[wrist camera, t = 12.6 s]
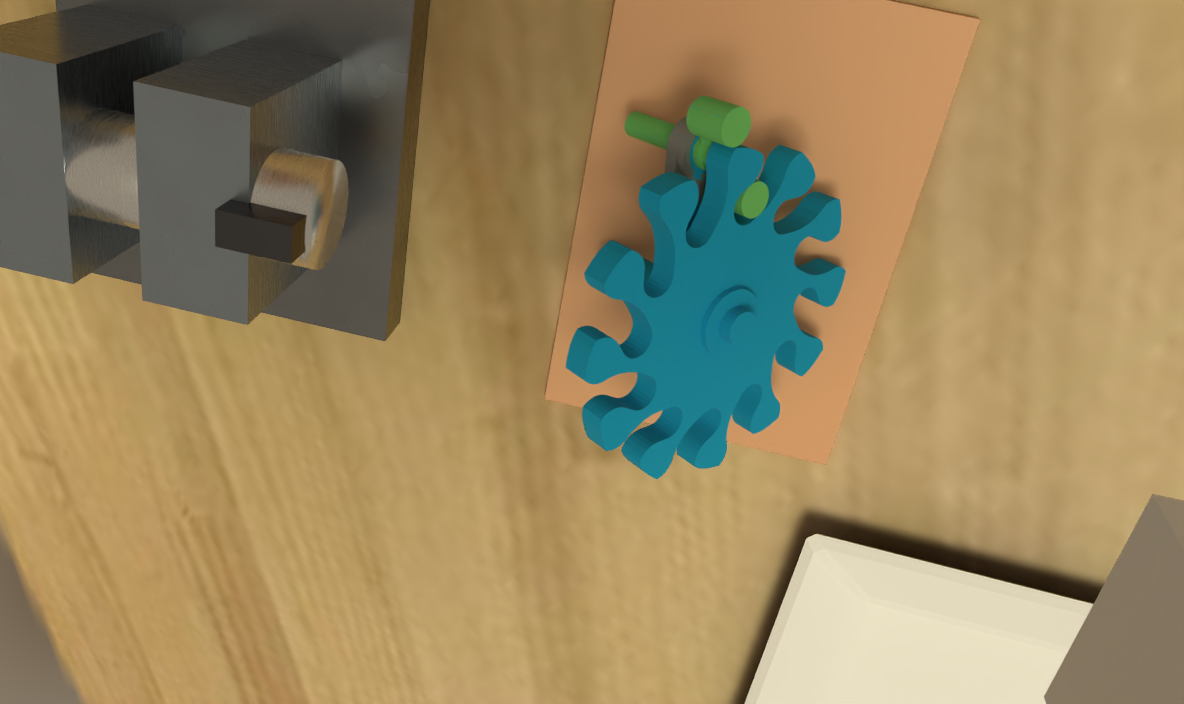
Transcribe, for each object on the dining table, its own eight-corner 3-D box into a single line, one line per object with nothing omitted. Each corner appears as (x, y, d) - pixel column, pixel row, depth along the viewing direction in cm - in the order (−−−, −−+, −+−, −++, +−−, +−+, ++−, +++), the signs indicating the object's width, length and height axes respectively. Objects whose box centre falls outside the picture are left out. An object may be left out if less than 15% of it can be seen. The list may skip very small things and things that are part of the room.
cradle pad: (625, -55, 28) (624, -54, 28) (978, 18, 28) (980, 19, 28) (546, 394, 35) (544, 398, 35) (826, 460, 35) (826, 465, 35)
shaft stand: (79, -113, 30) (-143, -99, 23) (433, -39, 29) (322, 1, 22) (102, 253, 36) (-70, 359, 28) (399, 322, 35) (302, 448, 28)
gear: (833, 430, 33) (590, 537, 27) (707, 359, 37) (475, 439, 31) (896, 89, 28) (615, 135, 22) (743, 50, 32) (472, 81, 26)
